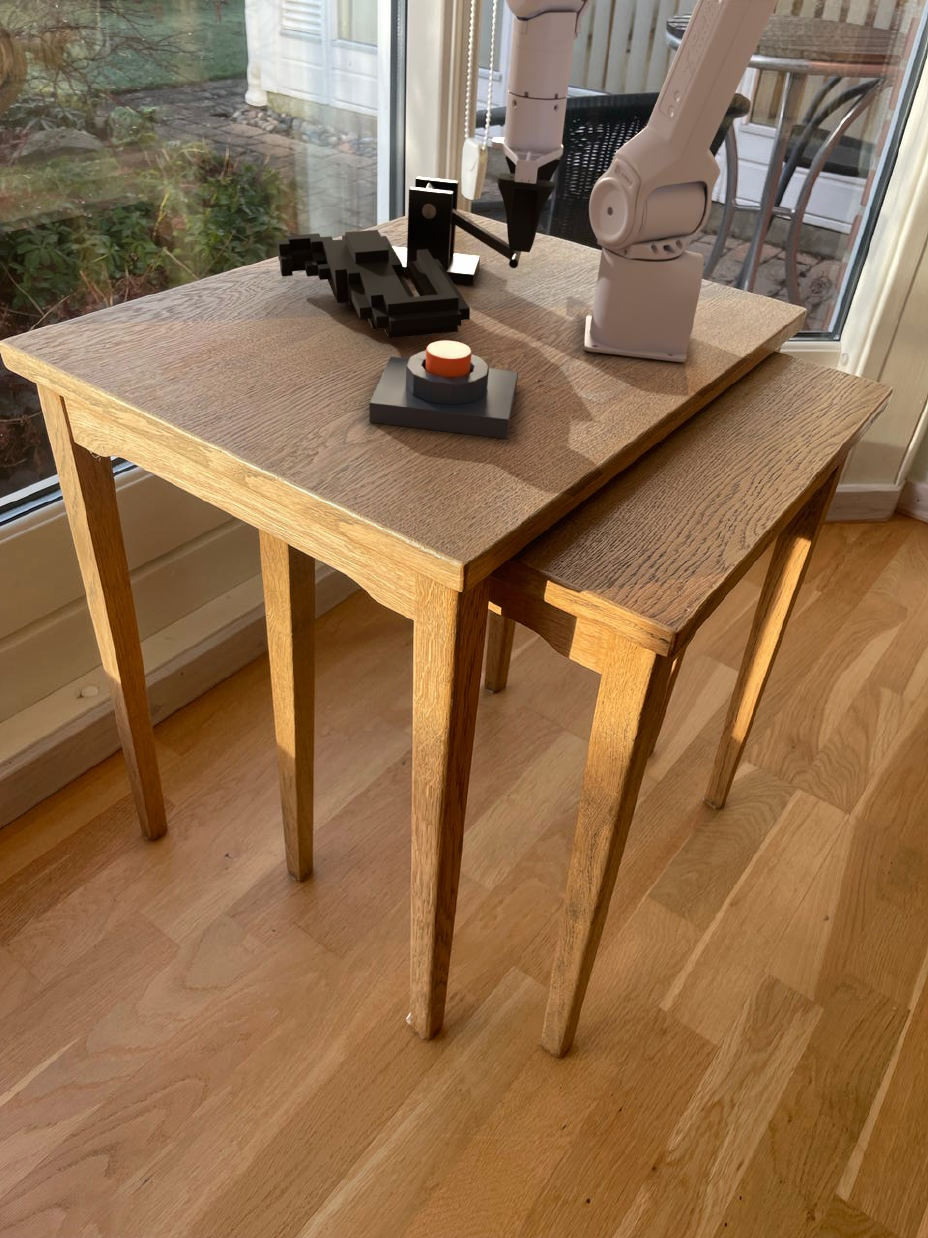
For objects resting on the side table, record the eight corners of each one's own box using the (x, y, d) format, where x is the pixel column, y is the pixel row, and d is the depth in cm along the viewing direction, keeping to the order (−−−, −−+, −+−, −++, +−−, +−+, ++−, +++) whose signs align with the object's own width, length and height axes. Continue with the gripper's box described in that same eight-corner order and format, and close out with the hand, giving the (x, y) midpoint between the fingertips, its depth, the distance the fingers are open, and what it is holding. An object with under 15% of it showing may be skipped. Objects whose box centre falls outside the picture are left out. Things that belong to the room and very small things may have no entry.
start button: (472, 363, 81) (474, 342, 80) (467, 382, 78) (468, 361, 77) (429, 358, 81) (430, 337, 80) (422, 376, 78) (423, 355, 77)
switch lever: (515, 260, 107) (527, 241, 105) (511, 276, 103) (523, 256, 101) (419, 199, 104) (430, 178, 102) (412, 212, 100) (423, 191, 99)
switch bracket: (479, 266, 108) (486, 182, 102) (472, 285, 103) (479, 198, 98) (389, 256, 108) (391, 171, 103) (378, 275, 104) (380, 187, 98)
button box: (516, 389, 85) (520, 351, 82) (506, 439, 78) (511, 398, 75) (389, 374, 85) (390, 335, 83) (369, 422, 78) (369, 381, 76)
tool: (302, 305, 83) (473, 289, 86) (273, 221, 98) (420, 211, 101) (308, 363, 87) (472, 346, 90) (279, 274, 102) (420, 262, 105)
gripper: (502, 75, 100) (491, 214, 108) (488, 104, 89) (476, 256, 97) (572, 82, 100) (555, 221, 108) (566, 111, 88) (548, 264, 97)
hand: (522, 238), depth 103 cm, fingers open, 7 cm apart
